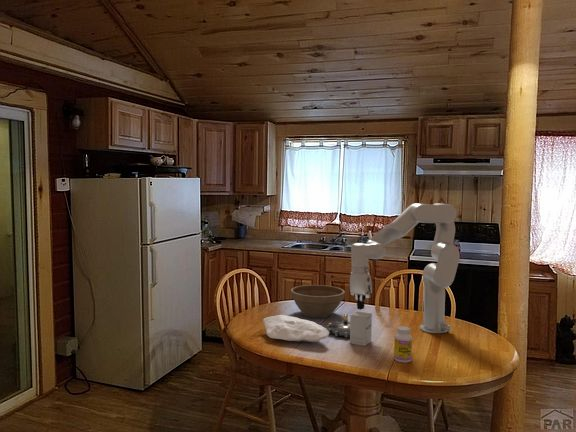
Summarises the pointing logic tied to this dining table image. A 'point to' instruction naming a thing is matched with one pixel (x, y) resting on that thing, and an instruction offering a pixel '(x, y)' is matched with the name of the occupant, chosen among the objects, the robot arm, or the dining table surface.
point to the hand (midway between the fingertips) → (360, 308)
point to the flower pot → (317, 299)
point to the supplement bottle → (403, 345)
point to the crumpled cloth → (294, 329)
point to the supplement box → (360, 328)
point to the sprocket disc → (340, 327)
